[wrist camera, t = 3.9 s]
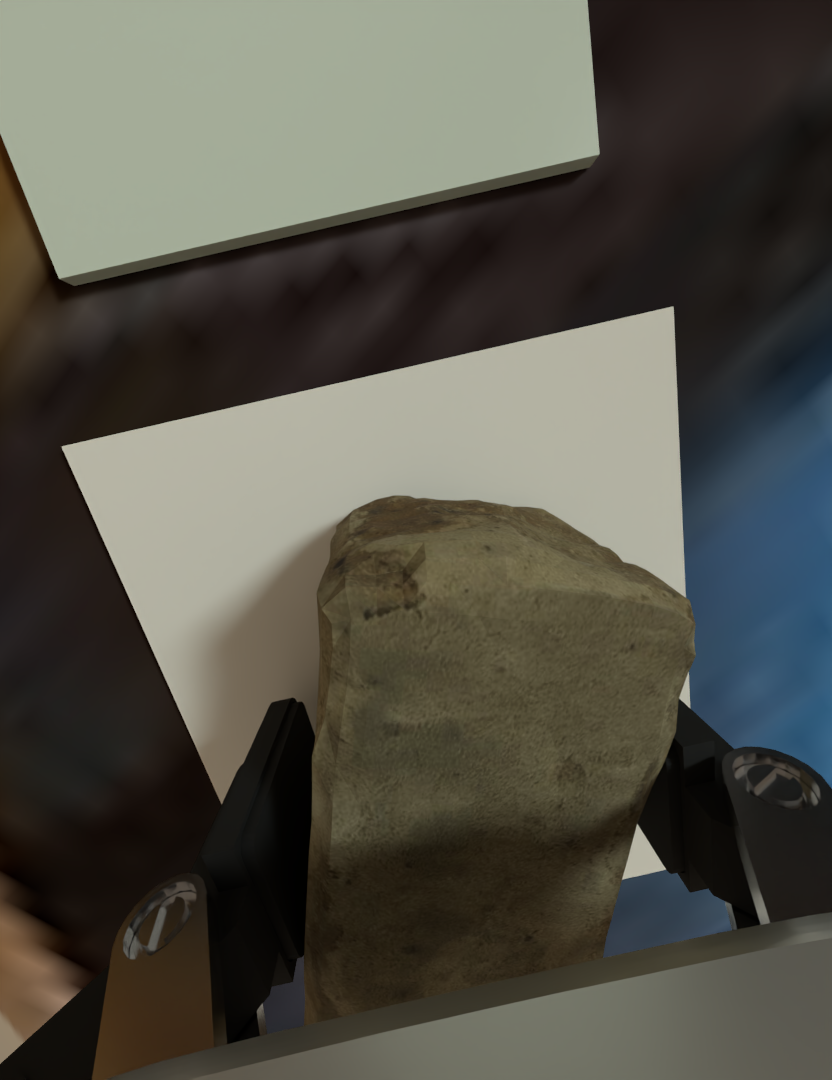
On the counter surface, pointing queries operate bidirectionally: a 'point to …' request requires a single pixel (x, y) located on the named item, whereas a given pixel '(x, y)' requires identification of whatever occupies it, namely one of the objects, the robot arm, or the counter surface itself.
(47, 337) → the counter surface
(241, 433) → the tile
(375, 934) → the stone block
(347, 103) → the pale green pad
